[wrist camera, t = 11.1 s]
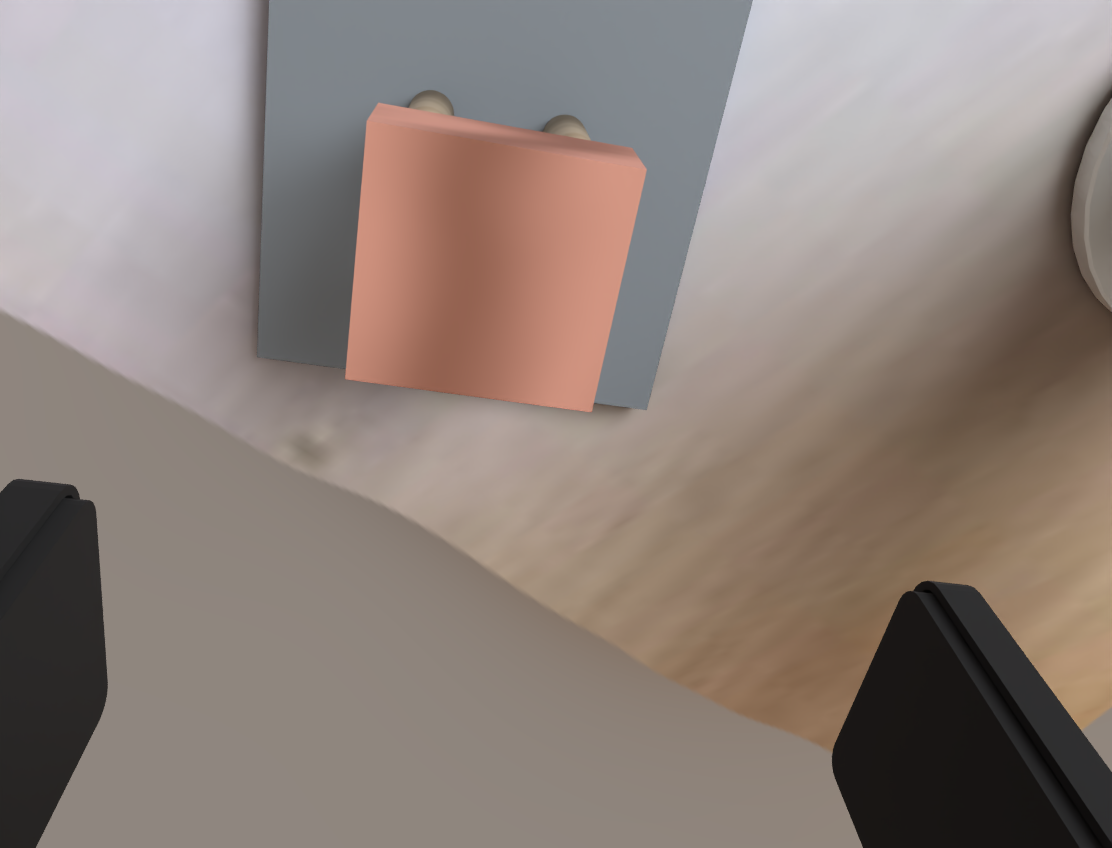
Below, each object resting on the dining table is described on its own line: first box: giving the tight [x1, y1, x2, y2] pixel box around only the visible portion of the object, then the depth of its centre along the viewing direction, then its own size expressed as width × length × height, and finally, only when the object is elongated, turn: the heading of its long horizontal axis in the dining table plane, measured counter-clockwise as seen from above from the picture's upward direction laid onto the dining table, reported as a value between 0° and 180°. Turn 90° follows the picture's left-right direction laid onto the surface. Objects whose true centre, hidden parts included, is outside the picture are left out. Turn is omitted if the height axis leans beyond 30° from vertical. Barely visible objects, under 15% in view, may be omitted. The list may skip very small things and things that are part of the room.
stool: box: [345, 90, 647, 412], centre depth 26 cm, size 6×6×8 cm
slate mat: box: [257, 0, 753, 410], centre depth 30 cm, size 14×14×1 cm
